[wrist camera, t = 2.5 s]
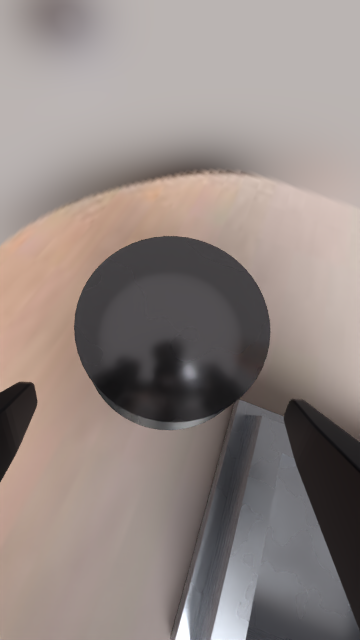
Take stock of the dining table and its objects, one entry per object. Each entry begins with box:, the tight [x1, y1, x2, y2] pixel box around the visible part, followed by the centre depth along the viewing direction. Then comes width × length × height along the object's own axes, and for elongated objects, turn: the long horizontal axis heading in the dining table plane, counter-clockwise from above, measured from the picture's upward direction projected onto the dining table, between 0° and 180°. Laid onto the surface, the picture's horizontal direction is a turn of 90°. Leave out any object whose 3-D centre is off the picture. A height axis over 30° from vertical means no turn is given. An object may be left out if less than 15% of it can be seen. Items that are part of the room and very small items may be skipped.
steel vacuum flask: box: [74, 236, 270, 430], centre depth 12 cm, size 5×5×13 cm
